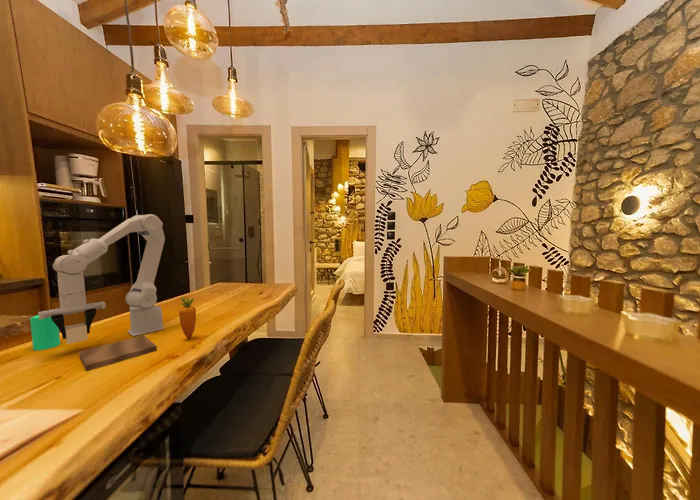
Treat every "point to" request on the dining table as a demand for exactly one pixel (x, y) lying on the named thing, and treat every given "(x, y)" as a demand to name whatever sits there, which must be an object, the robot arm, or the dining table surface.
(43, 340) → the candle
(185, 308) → the carrot
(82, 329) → the cube
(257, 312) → the dining table surface
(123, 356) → the walnut board
